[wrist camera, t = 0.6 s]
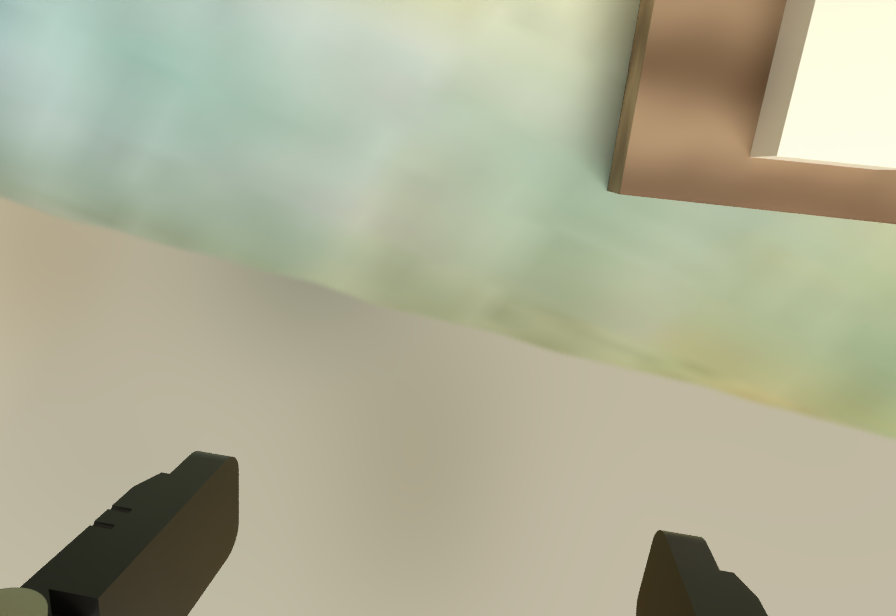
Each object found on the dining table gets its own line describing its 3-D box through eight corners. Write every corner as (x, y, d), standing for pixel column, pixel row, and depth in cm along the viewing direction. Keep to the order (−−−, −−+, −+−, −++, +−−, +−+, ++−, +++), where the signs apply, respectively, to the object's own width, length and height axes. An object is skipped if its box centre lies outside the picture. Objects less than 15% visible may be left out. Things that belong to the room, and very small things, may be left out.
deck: (654, -79, 29) (675, -116, 25) (1064, -52, 27) (1154, -87, 24) (607, 190, 33) (619, 194, 29) (967, 229, 31) (1030, 238, 27)
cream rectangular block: (797, -45, 25) (833, -72, 23) (935, -35, 25) (990, -61, 22) (749, 156, 28) (776, 156, 25) (875, 169, 27) (918, 170, 24)
